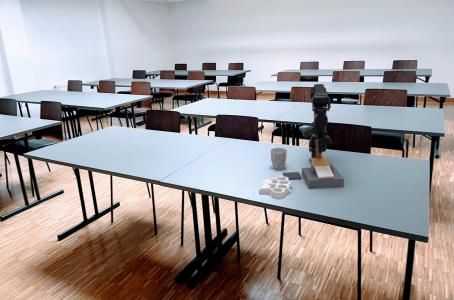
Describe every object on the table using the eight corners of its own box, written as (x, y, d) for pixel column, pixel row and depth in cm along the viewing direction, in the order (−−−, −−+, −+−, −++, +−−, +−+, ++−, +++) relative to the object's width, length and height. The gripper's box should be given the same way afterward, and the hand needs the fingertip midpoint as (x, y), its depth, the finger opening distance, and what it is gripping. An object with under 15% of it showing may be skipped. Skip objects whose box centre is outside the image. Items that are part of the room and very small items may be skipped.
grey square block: (301, 175, 174) (301, 160, 172) (333, 173, 174) (334, 158, 171) (308, 188, 159) (309, 172, 156) (343, 186, 159) (344, 171, 156)
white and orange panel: (311, 159, 171) (311, 157, 170) (325, 158, 171) (325, 156, 170) (318, 178, 158) (318, 176, 158) (333, 177, 158) (334, 175, 157)
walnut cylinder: (315, 156, 171) (315, 138, 168) (321, 155, 171) (321, 138, 168) (316, 158, 168) (317, 140, 165) (322, 157, 168) (323, 140, 165)
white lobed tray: (265, 181, 170) (295, 183, 166) (257, 197, 154) (290, 200, 150) (265, 175, 169) (295, 177, 165) (257, 190, 153) (290, 193, 149)
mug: (277, 162, 193) (277, 145, 190) (291, 164, 188) (291, 147, 185) (268, 168, 184) (267, 151, 181) (282, 171, 180) (282, 153, 177)
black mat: (282, 173, 177) (282, 172, 177) (298, 172, 177) (298, 171, 177) (285, 180, 169) (285, 178, 169) (301, 179, 169) (301, 178, 169)
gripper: (299, 117, 173) (298, 147, 178) (307, 127, 155) (306, 159, 160) (321, 116, 172) (320, 145, 177) (332, 125, 155) (330, 158, 160)
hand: (319, 152), depth 169 cm, fingers closed on walnut cylinder, 3 cm apart
